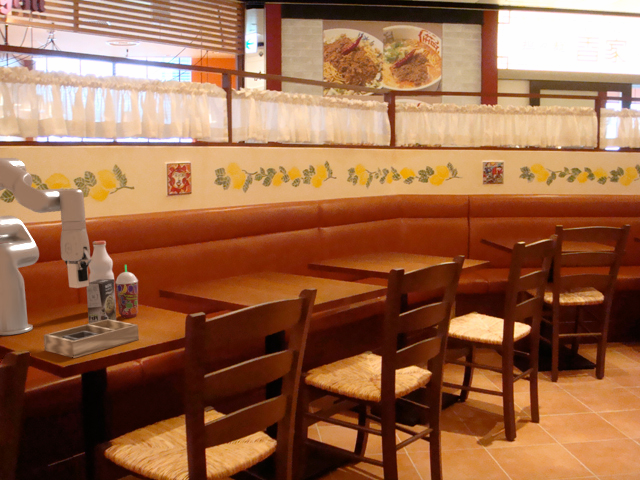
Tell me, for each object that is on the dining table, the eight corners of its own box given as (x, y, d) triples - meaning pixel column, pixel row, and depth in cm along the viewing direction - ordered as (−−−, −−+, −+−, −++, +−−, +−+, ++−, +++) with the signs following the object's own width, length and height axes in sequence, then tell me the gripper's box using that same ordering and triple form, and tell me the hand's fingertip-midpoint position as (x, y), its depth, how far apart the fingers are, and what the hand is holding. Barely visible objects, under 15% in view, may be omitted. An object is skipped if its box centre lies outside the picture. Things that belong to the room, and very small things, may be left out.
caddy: (44, 350, 210) (43, 334, 209) (108, 333, 229) (107, 319, 229) (74, 358, 201) (73, 341, 200) (138, 339, 220) (137, 324, 219)
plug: (69, 287, 223) (66, 260, 222) (80, 284, 226) (78, 258, 225) (77, 288, 220) (75, 261, 219) (89, 285, 224) (86, 259, 223)
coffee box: (104, 327, 237) (101, 283, 235) (88, 327, 239) (85, 283, 237) (117, 321, 246) (114, 278, 244) (101, 321, 248) (98, 278, 246)
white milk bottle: (96, 308, 270) (92, 240, 266) (119, 308, 269) (115, 239, 266) (87, 313, 260) (82, 243, 257) (111, 313, 260) (106, 242, 257)
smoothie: (128, 319, 248) (124, 267, 246) (112, 317, 253) (109, 265, 250) (144, 315, 255) (141, 263, 253) (129, 313, 260) (126, 262, 257)
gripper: (48, 227, 222) (53, 280, 225) (79, 228, 213) (84, 284, 215) (68, 224, 229) (72, 277, 231) (99, 225, 219) (103, 280, 221)
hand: (78, 279), depth 223 cm, fingers closed on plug, 4 cm apart
